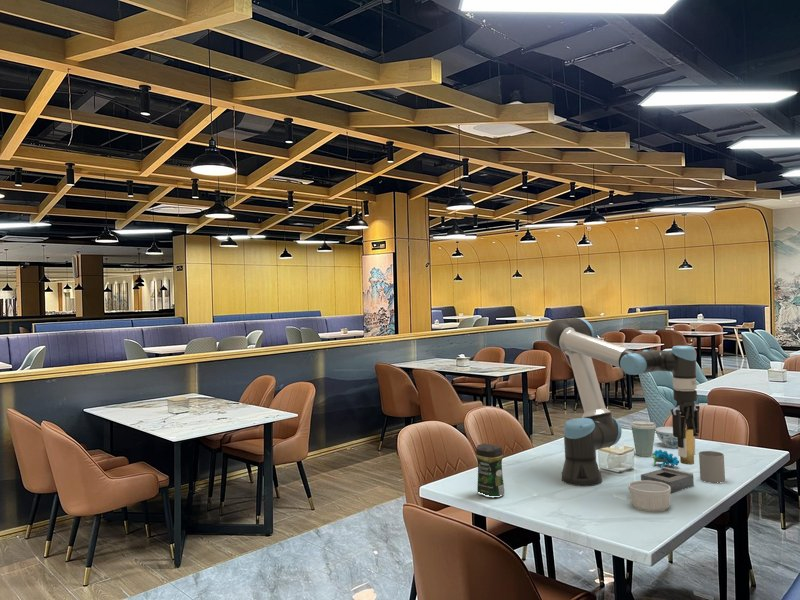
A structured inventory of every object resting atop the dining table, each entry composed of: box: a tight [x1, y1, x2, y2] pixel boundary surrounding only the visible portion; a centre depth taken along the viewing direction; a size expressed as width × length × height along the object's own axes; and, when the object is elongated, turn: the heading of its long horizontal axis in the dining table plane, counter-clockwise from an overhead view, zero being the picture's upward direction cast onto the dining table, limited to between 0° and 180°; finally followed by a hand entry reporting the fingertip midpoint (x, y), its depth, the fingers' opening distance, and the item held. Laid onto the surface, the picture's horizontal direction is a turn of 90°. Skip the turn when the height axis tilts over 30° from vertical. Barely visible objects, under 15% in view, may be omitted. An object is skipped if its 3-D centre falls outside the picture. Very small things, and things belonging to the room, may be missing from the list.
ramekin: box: [627, 480, 671, 513], centre depth 195 cm, size 13×13×7 cm
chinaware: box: [655, 426, 678, 448], centre depth 275 cm, size 15×15×8 cm
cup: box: [698, 450, 726, 484], centre depth 221 cm, size 8×8×10 cm
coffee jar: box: [475, 443, 505, 496], centre depth 214 cm, size 10×8×19 cm
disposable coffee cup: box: [630, 420, 657, 458], centre depth 261 cm, size 11×11×15 cm
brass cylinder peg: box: [679, 427, 695, 466], centre depth 206 cm, size 4×4×12 cm
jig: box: [640, 466, 695, 494], centre depth 216 cm, size 14×12×5 cm
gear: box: [652, 449, 680, 468], centre depth 241 cm, size 11×6×10 cm
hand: (686, 455), depth 206 cm, fingers closed on brass cylinder peg, 4 cm apart
